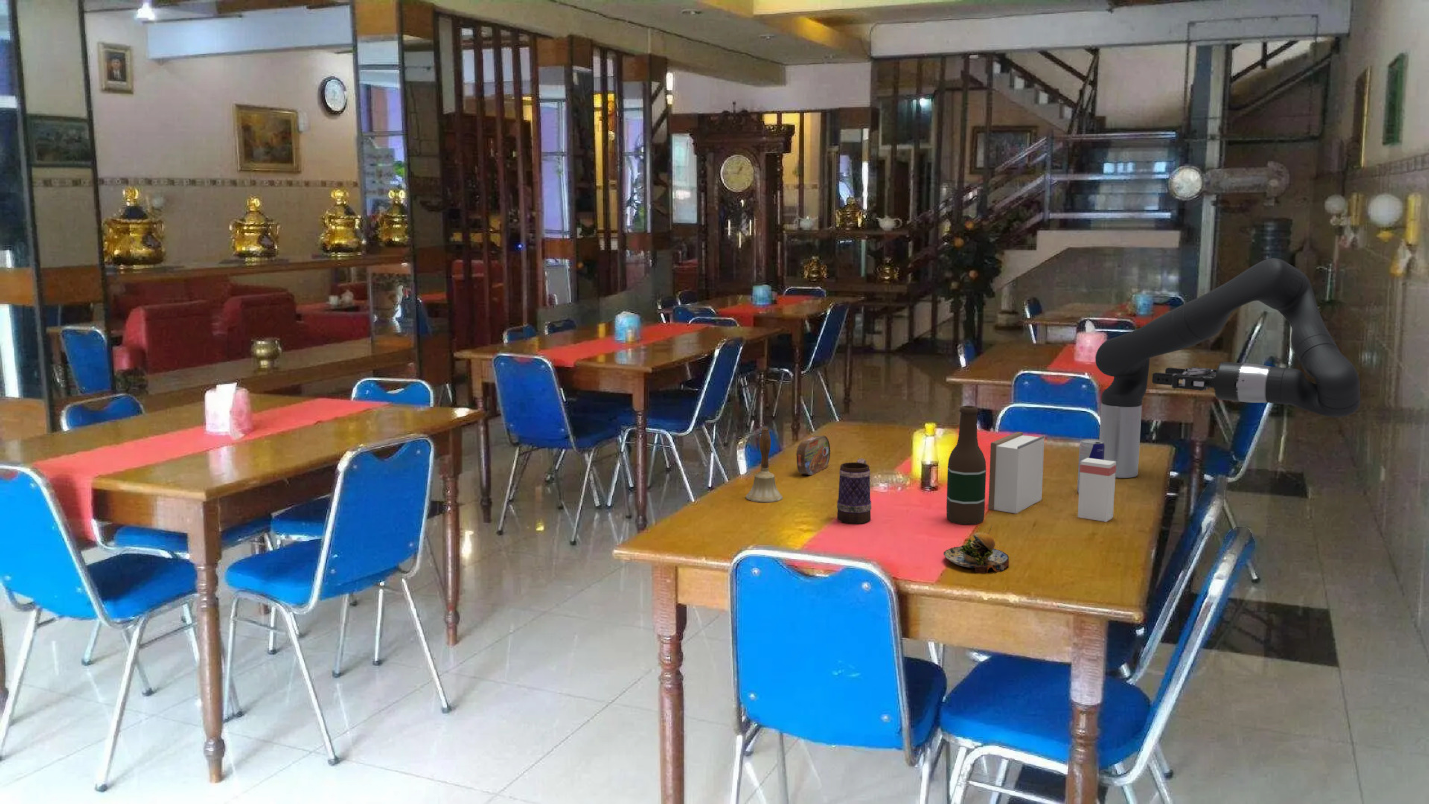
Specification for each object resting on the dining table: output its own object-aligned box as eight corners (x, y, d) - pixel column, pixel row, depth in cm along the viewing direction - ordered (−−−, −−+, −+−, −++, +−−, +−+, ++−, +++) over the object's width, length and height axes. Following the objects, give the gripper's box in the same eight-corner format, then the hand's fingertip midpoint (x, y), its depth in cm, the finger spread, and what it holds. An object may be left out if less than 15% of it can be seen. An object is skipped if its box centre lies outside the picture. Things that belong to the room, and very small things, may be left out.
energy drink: (1103, 496, 254) (1106, 444, 252) (1078, 495, 255) (1081, 443, 253) (1100, 490, 259) (1103, 439, 257) (1075, 489, 260) (1078, 438, 258)
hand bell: (788, 495, 257) (788, 426, 254) (774, 504, 249) (774, 433, 246) (754, 491, 260) (754, 423, 257) (739, 500, 253) (739, 430, 250)
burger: (946, 552, 215) (947, 514, 214) (1010, 557, 212) (1012, 518, 211) (940, 571, 204) (941, 531, 203) (1007, 577, 201) (1009, 536, 199)
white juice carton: (1084, 512, 241) (1087, 457, 239) (1113, 517, 237) (1116, 461, 235) (1077, 517, 238) (1080, 461, 236) (1106, 521, 234) (1109, 465, 232)
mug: (864, 526, 232) (865, 469, 230) (832, 522, 235) (832, 465, 233) (879, 513, 241) (880, 458, 239) (848, 510, 244) (848, 455, 242)
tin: (805, 478, 272) (806, 444, 271) (793, 477, 274) (794, 443, 272) (831, 466, 285) (831, 433, 284) (819, 464, 287) (820, 432, 285)
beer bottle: (986, 516, 238) (990, 404, 234) (982, 526, 231) (986, 410, 227) (948, 513, 241) (952, 402, 237) (943, 523, 234) (947, 408, 229)
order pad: (1015, 495, 255) (1017, 431, 253) (1041, 499, 252) (1044, 435, 249) (988, 509, 244) (990, 442, 242) (1015, 513, 240) (1018, 446, 238)
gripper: (1254, 359, 227) (1170, 353, 237) (1236, 367, 216) (1149, 361, 226) (1251, 396, 229) (1168, 388, 238) (1233, 406, 217) (1147, 398, 227)
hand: (1159, 375), depth 232 cm, fingers open, 8 cm apart
